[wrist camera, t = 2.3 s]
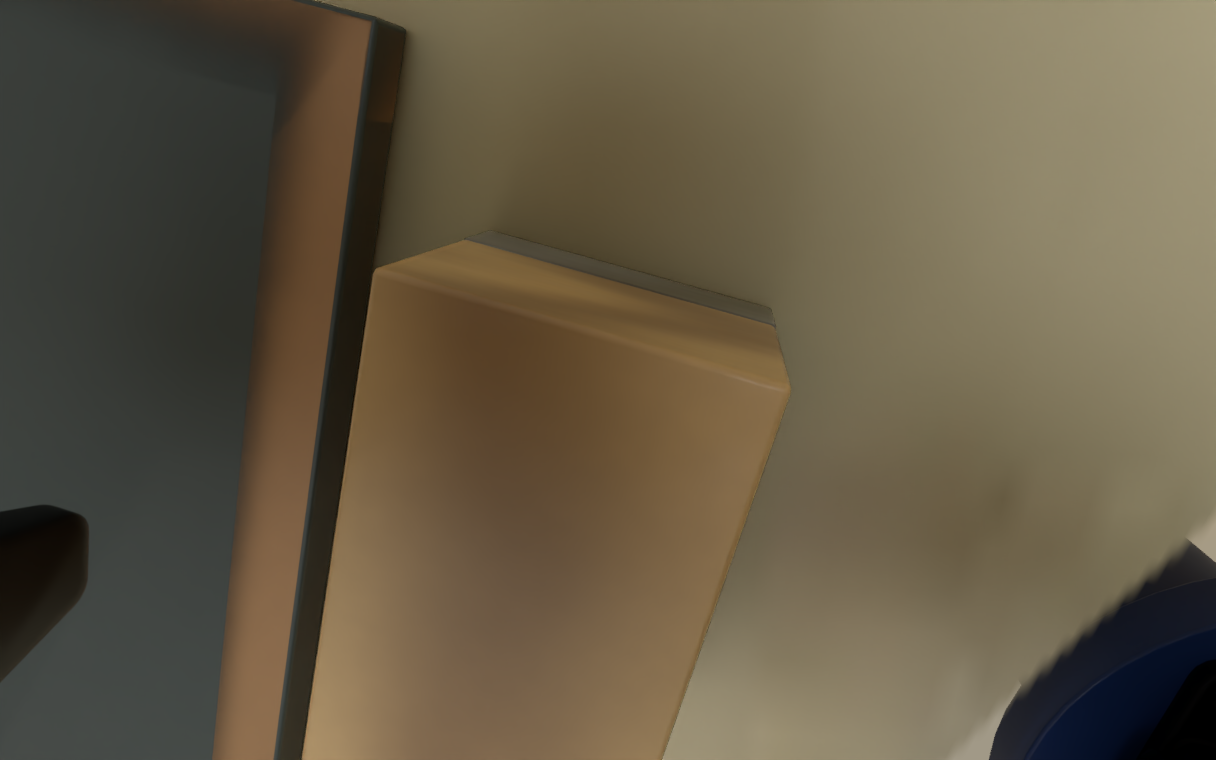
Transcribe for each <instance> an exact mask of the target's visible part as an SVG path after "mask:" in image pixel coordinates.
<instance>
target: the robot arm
mask: <svg viewBox="0 0 1216 760" xmlns="http://www.w3.org/2000/svg"><path fill="white" fill-rule="evenodd" d="M88 560H89V525H88V523H87V520H86V519H85V517H83V516H82V515H80V514H78V513H75V512H72V511H69V510H66V509H63V508H60V507H57V506H53V505H46V504H42V505H35V506H29V507H24V508H18V509H12V510H6V511H0V682H1V681H2V680H3V679H4V678H5V677H6V676H7V675H8V674H9V673H10V672H11V671H12V670H13V669H14V668H15V667H16V666H17V665H18V664H19V663H20V662H21V661H22V660H23V659H24V658H25V657H26V656H27V655H28V654H29V652H30V651H31V650H32V649H33V648H34V647H35V646H36V645H37V644H38V643H39V642H40V641H41V640H42V639H43V638H44V637H45V636H46V635H47V634H48V633H49V632H50V631H51V630H52V629H53V628H54V627H55V626H56V625H57V624H58V623H59V621H60V620H61V619H62V618H63V617H64V616H65V615H66V614H67V613H68V612H69V611H70V610H71V609H72V608H73V607H74V606H75V605H76V603H77V602H78V601H79V599H80V598H81V596H82V595H83V593H84V591H85V589H86V585H87V582H88ZM1136 760H1216V659H1215V660H1209V661H1205V662H1204V663H1202V664H1200V665H1198V666H1196V667H1195V668H1194V669H1193V670H1192V671H1191V672H1190V673H1189V675H1188V676H1187V678H1186V679H1185V681H1184V683H1183V684H1182V686H1181V688H1180V689H1179V691H1178V692H1177V694H1176V696H1175V697H1174V699H1173V700H1172V702H1171V704H1170V705H1169V707H1168V708H1167V710H1166V712H1165V713H1164V715H1163V716H1162V718H1161V720H1160V721H1159V723H1158V725H1157V726H1156V728H1155V729H1154V731H1153V733H1152V734H1151V736H1150V737H1149V739H1148V741H1147V742H1146V744H1145V745H1144V747H1143V749H1142V750H1141V752H1140V753H1139V755H1138V757H1137V758H1136Z"/></svg>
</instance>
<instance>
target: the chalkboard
mask: <svg viewBox="0 0 1216 760" xmlns="http://www.w3.org/2000/svg"><path fill="white" fill-rule="evenodd" d="M405 35H406V30H405V29H404V28H403V27H400V26H398V25H395V24H393V23H390V22H387V21H385V20H382V19H380V18H377V17H374V16H371V15H367V14H363V13H359V12H355V11H351V10H347V9H344V8H340V7H336V6H332V5H328V4H324V3H320V2H317V1H313V0H0V511H6V510H12V509H18V508H24V507H29V506H35V505H42V504H46V505H53V506H57V507H60V508H63V509H66V510H69V511H72V512H75V513H78V514H80V515H82V516H83V517H85V519H86V520H87V523H88V525H89V560H88V582H87V585H86V589H85V591H84V593H83V595H82V596H81V598H80V599H79V601H78V602H77V603H76V605H75V606H74V607H73V608H72V609H71V610H70V611H69V612H68V613H67V614H66V615H65V616H64V617H63V618H62V619H61V620H60V621H59V623H58V624H57V625H56V626H55V627H54V628H53V629H52V630H51V631H50V632H49V633H48V634H47V635H46V636H45V637H44V638H43V639H42V640H41V641H40V642H39V643H38V644H37V645H36V646H35V647H34V648H33V649H32V650H31V651H30V652H29V654H28V655H27V656H26V657H25V658H24V659H23V660H22V661H21V662H20V663H19V664H18V665H17V666H16V667H15V668H14V669H13V670H12V671H11V672H10V673H9V674H8V675H7V676H6V677H5V678H4V679H3V680H2V681H1V682H0V760H300V755H301V748H302V742H303V735H304V728H305V721H306V714H307V707H308V700H309V694H310V687H311V680H312V673H313V666H314V659H315V652H316V646H317V639H318V632H319V625H320V618H321V611H322V605H323V598H324V591H325V584H326V577H327V570H328V563H329V557H330V550H331V543H332V536H333V529H334V522H335V515H336V509H337V502H338V495H339V488H340V481H341V474H342V467H343V461H344V454H345V447H346V440H347V433H348V426H349V419H350V413H351V406H352V399H353V392H354V385H355V378H356V371H357V365H358V358H359V351H360V344H361V337H362V330H363V323H364V317H365V310H366V303H367V296H368V289H369V282H370V275H371V269H372V262H373V255H374V248H375V241H376V234H377V227H378V221H379V214H380V207H381V200H382V193H383V186H384V179H385V173H386V166H387V159H388V152H389V145H390V138H391V131H392V125H393V118H394V111H395V104H396V97H397V90H398V83H399V77H400V70H401V63H402V56H403V49H404V42H405Z"/></svg>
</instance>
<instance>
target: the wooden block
mask: <svg viewBox="0 0 1216 760" xmlns="http://www.w3.org/2000/svg"><path fill="white" fill-rule="evenodd" d="M790 394H791V386H790V382H789V378H788V374H787V371H786V367H785V363H784V359H783V356H782V352H781V348H780V344H779V341H778V337H777V333H776V325H775V321H774V318H773V314H772V310H771V309H770V308H768V307H764V306H760V305H757V304H753V303H750V302H746V301H742V300H739V299H735V298H732V297H728V296H725V295H721V294H717V293H714V292H710V291H707V290H703V289H699V288H696V287H692V286H689V285H685V284H681V283H678V282H674V281H671V280H667V279H663V278H660V277H656V276H653V275H649V274H645V273H642V272H638V271H635V270H631V269H628V268H624V267H620V266H617V265H613V264H610V263H606V262H602V261H599V260H595V259H592V258H588V257H584V256H581V255H577V254H574V253H570V252H566V251H563V250H559V249H556V248H552V247H549V246H545V245H541V244H538V243H534V242H531V241H527V240H523V239H520V238H516V237H513V236H509V235H505V234H502V233H498V232H495V231H487V232H484V233H480V234H477V235H474V236H471V237H468V238H465V239H464V240H462V241H459V242H456V243H453V244H449V245H446V246H443V247H440V248H437V249H434V250H431V251H428V252H425V253H421V254H418V255H415V256H412V257H409V258H406V259H403V260H400V261H396V262H393V263H390V264H387V265H384V266H381V267H378V268H376V270H375V271H374V273H373V278H372V285H371V292H370V298H369V305H368V312H367V319H366V326H365V332H364V339H363V346H362V353H361V360H360V366H359V373H358V380H357V387H356V394H355V400H354V407H353V414H352V421H351V428H350V435H349V441H348V448H347V455H346V462H345V469H344V475H343V482H342V489H341V496H340V503H339V509H338V516H337V523H336V530H335V537H334V543H333V550H332V557H331V564H330V571H329V577H328V584H327V591H326V598H325V605H324V611H323V618H322V625H321V632H320V639H319V646H318V652H317V659H316V666H315V673H314V680H313V686H312V693H311V700H310V707H309V714H308V720H307V727H306V734H305V741H304V748H303V754H302V760H662V758H663V755H664V752H665V750H666V747H667V744H668V741H669V738H670V735H671V733H672V730H673V727H674V724H675V721H676V718H677V715H678V713H679V710H680V707H681V704H682V701H683V698H684V696H685V693H686V690H687V687H688V684H689V681H690V679H691V676H692V673H693V670H694V667H695V664H696V661H697V659H698V656H699V653H700V650H701V647H702V644H703V642H704V639H705V636H706V633H707V630H708V627H709V625H710V622H711V619H712V616H713V613H714V610H715V608H716V605H717V602H718V599H719V596H720V593H721V590H722V588H723V585H724V582H725V579H726V576H727V573H728V571H729V568H730V565H731V562H732V559H733V556H734V554H735V551H736V548H737V545H738V542H739V539H740V536H741V534H742V531H743V528H744V525H745V522H746V519H747V517H748V514H749V511H750V508H751V505H752V502H753V500H754V497H755V494H756V491H757V488H758V485H759V483H760V480H761V477H762V474H763V471H764V468H765V465H766V463H767V460H768V457H769V454H770V451H771V448H772V446H773V443H774V440H775V437H776V434H777V431H778V429H779V426H780V423H781V420H782V417H783V414H784V411H785V409H786V406H787V403H788V400H789V397H790Z"/></svg>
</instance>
